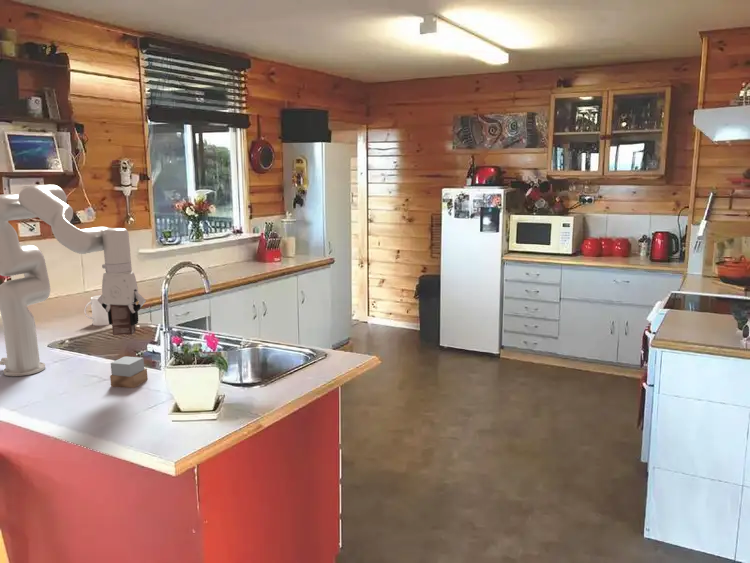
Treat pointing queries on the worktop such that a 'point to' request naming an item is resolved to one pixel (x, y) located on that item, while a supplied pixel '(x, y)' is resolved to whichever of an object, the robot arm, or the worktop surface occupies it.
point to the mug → (97, 312)
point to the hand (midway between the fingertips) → (123, 323)
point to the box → (121, 320)
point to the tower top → (127, 366)
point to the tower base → (129, 380)
